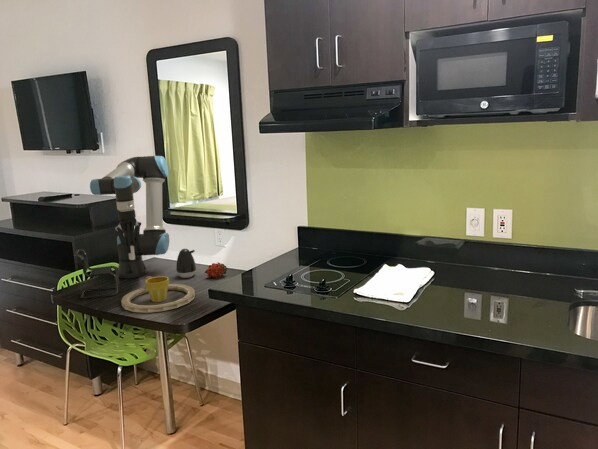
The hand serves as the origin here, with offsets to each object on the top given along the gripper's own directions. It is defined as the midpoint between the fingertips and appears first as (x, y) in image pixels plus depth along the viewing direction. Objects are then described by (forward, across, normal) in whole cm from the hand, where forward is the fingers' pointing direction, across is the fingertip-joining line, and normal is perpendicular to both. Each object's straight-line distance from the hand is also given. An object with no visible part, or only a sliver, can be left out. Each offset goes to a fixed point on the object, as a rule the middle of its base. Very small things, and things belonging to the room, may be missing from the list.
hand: (132, 259), depth 229 cm
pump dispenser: (+19, +32, +2) cm, 37 cm away
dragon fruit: (+19, +39, -13) cm, 45 cm away
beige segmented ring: (+17, +2, -15) cm, 23 cm away
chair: (+18, -8, +18) cm, 27 cm away
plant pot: (+18, +2, -15) cm, 23 cm away
